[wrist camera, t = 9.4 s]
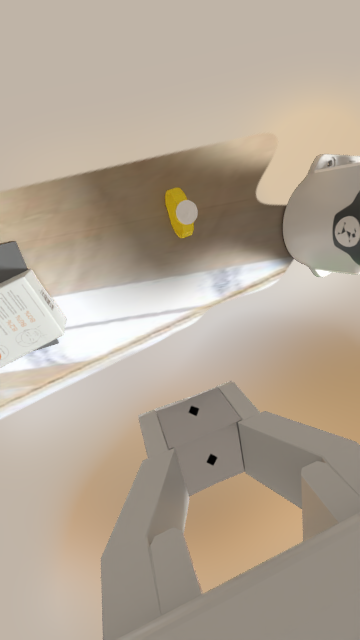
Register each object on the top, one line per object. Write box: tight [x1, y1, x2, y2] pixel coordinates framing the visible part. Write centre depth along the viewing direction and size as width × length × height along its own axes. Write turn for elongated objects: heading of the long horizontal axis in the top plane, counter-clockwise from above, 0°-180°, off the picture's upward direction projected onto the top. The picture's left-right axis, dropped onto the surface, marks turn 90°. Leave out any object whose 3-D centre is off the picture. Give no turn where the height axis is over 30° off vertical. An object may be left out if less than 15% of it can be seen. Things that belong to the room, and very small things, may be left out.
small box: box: [0, 269, 66, 368], centre depth 33 cm, size 8×6×10 cm
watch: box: [165, 188, 198, 238], centre depth 36 cm, size 6×3×6 cm, turn 17°
